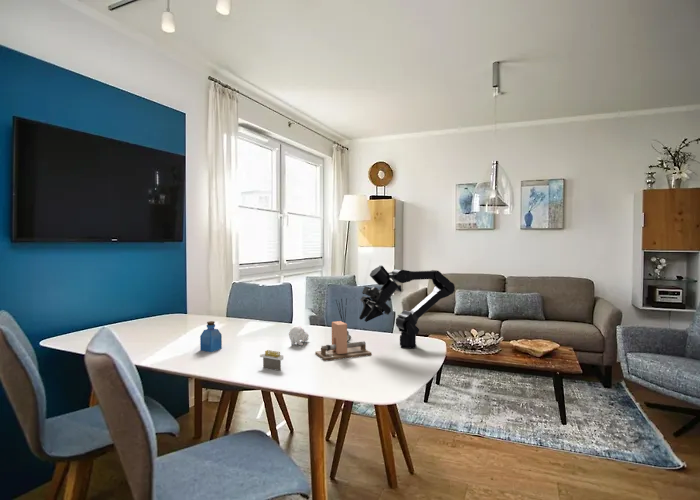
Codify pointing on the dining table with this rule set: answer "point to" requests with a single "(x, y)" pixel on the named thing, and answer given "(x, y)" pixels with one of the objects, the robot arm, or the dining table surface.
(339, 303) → the reed diffuser
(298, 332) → the white lumpy figurine
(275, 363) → the platform
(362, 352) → the pipe rig
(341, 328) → the peach rectangular block
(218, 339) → the perfume bottle
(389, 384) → the dining table surface
